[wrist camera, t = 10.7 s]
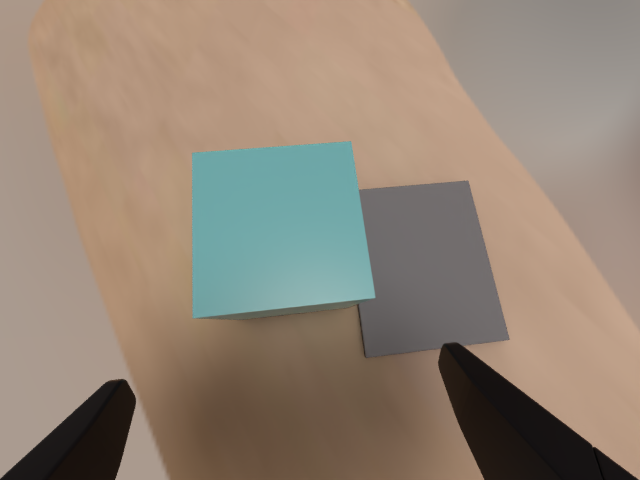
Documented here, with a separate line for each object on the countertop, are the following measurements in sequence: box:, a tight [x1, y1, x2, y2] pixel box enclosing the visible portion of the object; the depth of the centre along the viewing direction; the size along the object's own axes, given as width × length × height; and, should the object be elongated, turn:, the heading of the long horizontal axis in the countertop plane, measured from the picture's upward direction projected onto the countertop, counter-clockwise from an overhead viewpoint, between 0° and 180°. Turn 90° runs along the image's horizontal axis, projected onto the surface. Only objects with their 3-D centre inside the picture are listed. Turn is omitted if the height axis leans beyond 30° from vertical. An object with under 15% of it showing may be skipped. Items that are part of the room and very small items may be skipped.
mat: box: [358, 181, 510, 358], centre depth 22 cm, size 12×10×1 cm
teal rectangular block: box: [192, 141, 375, 320], centre depth 18 cm, size 7×7×9 cm
